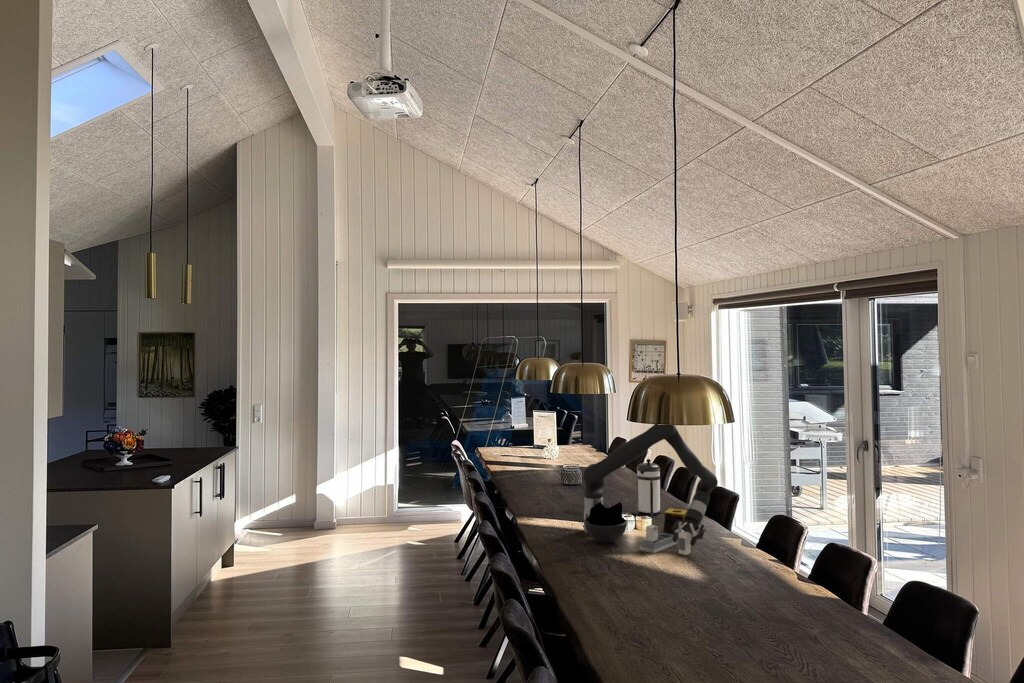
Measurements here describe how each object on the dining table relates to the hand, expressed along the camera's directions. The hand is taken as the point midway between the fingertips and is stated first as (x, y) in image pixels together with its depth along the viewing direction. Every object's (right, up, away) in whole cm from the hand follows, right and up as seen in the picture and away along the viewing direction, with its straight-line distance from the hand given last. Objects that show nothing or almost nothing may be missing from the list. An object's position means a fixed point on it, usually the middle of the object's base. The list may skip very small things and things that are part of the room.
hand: (682, 543), depth 305 cm
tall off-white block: (+1, -5, +1) cm, 5 cm away
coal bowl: (-31, -5, +19) cm, 37 cm away
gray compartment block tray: (-8, -5, +11) cm, 14 cm away
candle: (+6, -5, +38) cm, 39 cm away
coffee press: (0, -6, +76) cm, 76 cm away
